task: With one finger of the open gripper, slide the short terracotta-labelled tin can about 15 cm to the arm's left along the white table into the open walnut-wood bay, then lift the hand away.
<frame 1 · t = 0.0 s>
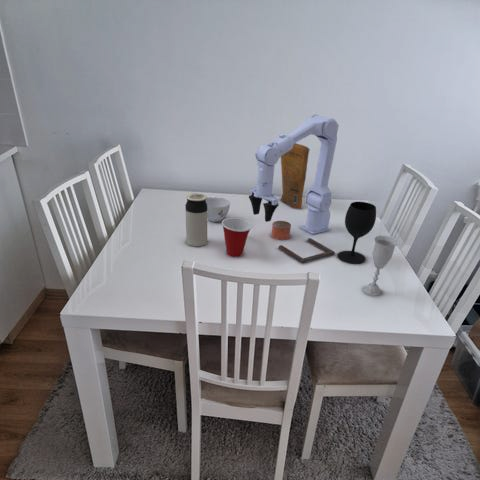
hand: (261, 217, 158), 10 cm above the table, tool pointing down, fingers open, 7 cm apart
pancake mix bag: (289, 204, 201), on the table
wine glass: (351, 258, 156), on the table
travel mug: (196, 242, 160), on the table
tin can: (280, 236, 169), on the table
chalice: (371, 291, 137), on the table
plastic cup: (235, 254, 154), on the table
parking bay: (304, 250, 159), on the table
teacup: (213, 219, 181), on the table
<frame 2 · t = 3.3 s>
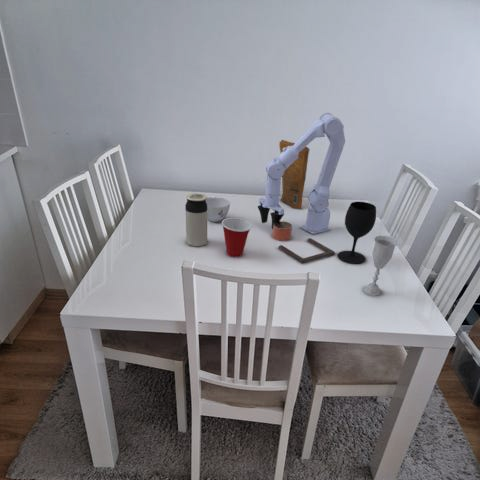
hand: (269, 225, 174), 2 cm above the table, tool pointing down, fingers open, 7 cm apart
tin can: (281, 236, 169), on the table, touching gripper
everything else where it was.
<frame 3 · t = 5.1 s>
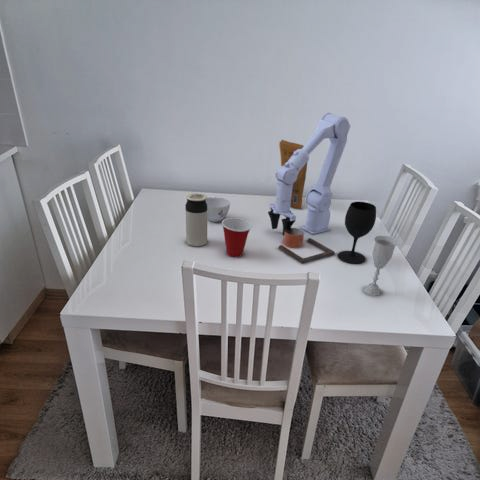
hand: (279, 231, 169), 2 cm above the table, tool pointing down, fingers open, 7 cm apart
tin can: (292, 243, 164), on the table, touching gripper
everything else where it was.
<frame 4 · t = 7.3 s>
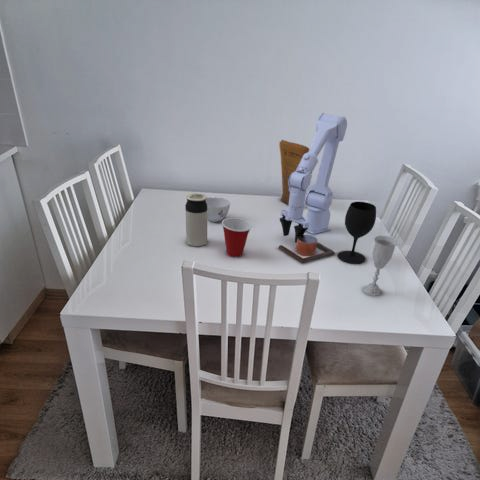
hand: (291, 238, 164), 2 cm above the table, tool pointing down, fingers open, 7 cm apart
tin can: (305, 251, 159), on the table, touching gripper
everything else where it was.
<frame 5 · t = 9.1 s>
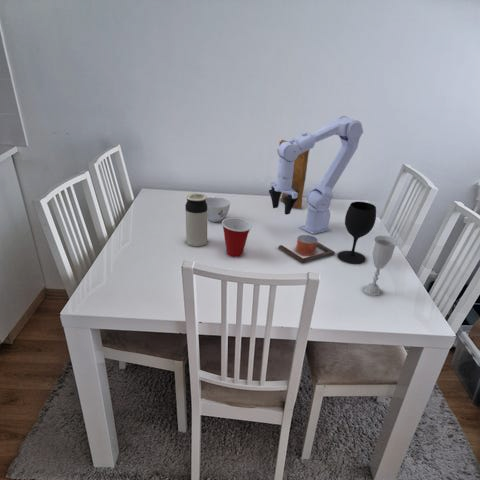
hand: (281, 210, 166), 9 cm above the table, tool pointing down, fingers open, 7 cm apart
tin can: (305, 251, 159), on the table
everything else where it was.
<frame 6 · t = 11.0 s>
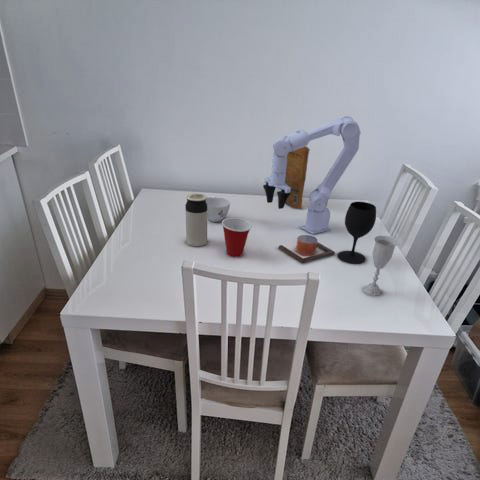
hand: (275, 205, 171), 9 cm above the table, tool pointing down, fingers open, 7 cm apart
nothing on the table moved.
at the end: tin can inside the target area (0.4 cm from its centre), on the table; tin can tilted 0° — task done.
